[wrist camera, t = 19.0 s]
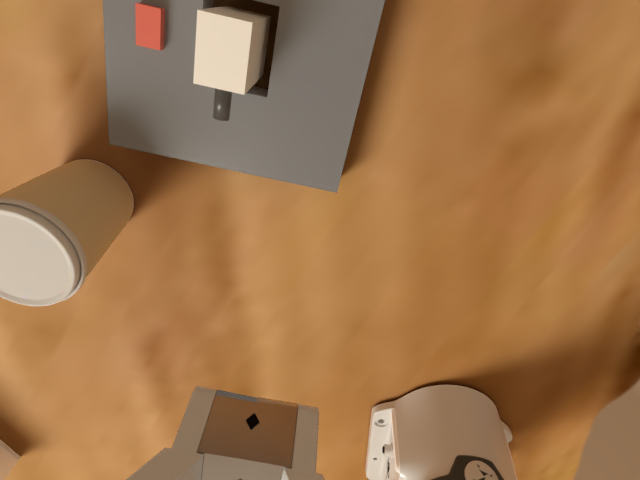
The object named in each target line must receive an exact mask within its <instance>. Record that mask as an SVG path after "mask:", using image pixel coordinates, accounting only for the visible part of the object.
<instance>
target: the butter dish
mask: <svg viewBox="0 0 640 480" xmlns="http://www.w3.org/2000/svg"><path fill="white" fill-rule="evenodd" d="M20 457H21V456H19V455H18V454H17V453H16V452H15V451H13V450H12V449H11V448H10V447H9V446H7V445H6V444H5V443H4V442H3V441H2V440H0V480H5V479H6V477H7V476H8V474H9V473H10V471H11V470H12V469H13V467H14V466H15V464H16V463H17V461H18V460H19V459H20Z"/></svg>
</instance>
